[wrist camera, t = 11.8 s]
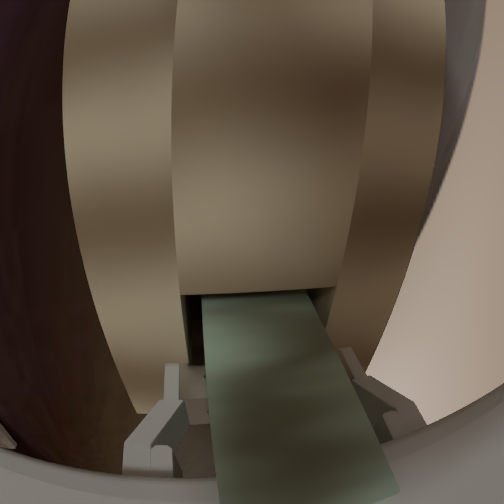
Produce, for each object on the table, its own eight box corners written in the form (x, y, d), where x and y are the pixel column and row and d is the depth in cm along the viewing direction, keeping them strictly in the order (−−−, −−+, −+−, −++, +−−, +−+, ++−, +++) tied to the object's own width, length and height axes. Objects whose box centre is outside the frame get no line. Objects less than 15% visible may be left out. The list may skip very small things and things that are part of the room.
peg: (293, 267, 13) (400, 491, 4) (283, 333, 15) (347, 520, 6) (200, 271, 12) (225, 535, 4) (204, 339, 14) (228, 544, 6)
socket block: (322, 325, 20) (355, 392, 15) (146, 336, 18) (137, 413, 13) (367, 11, 11) (443, -13, 5) (125, -8, 9) (84, -60, 3)
